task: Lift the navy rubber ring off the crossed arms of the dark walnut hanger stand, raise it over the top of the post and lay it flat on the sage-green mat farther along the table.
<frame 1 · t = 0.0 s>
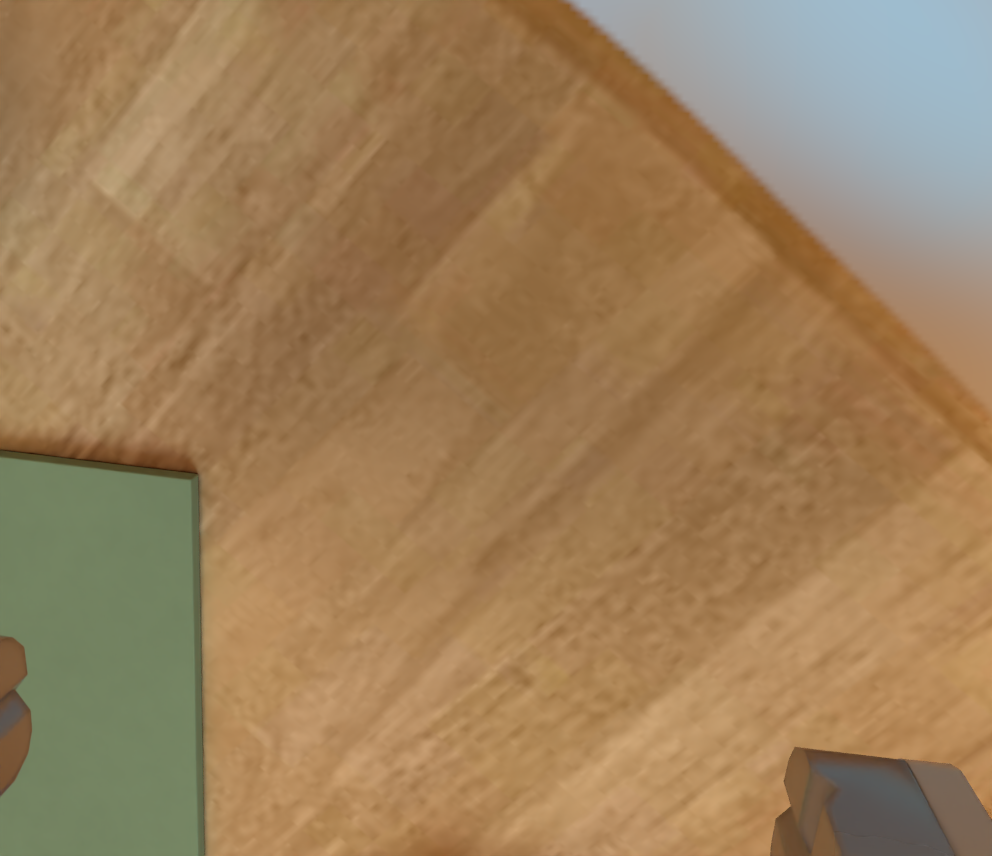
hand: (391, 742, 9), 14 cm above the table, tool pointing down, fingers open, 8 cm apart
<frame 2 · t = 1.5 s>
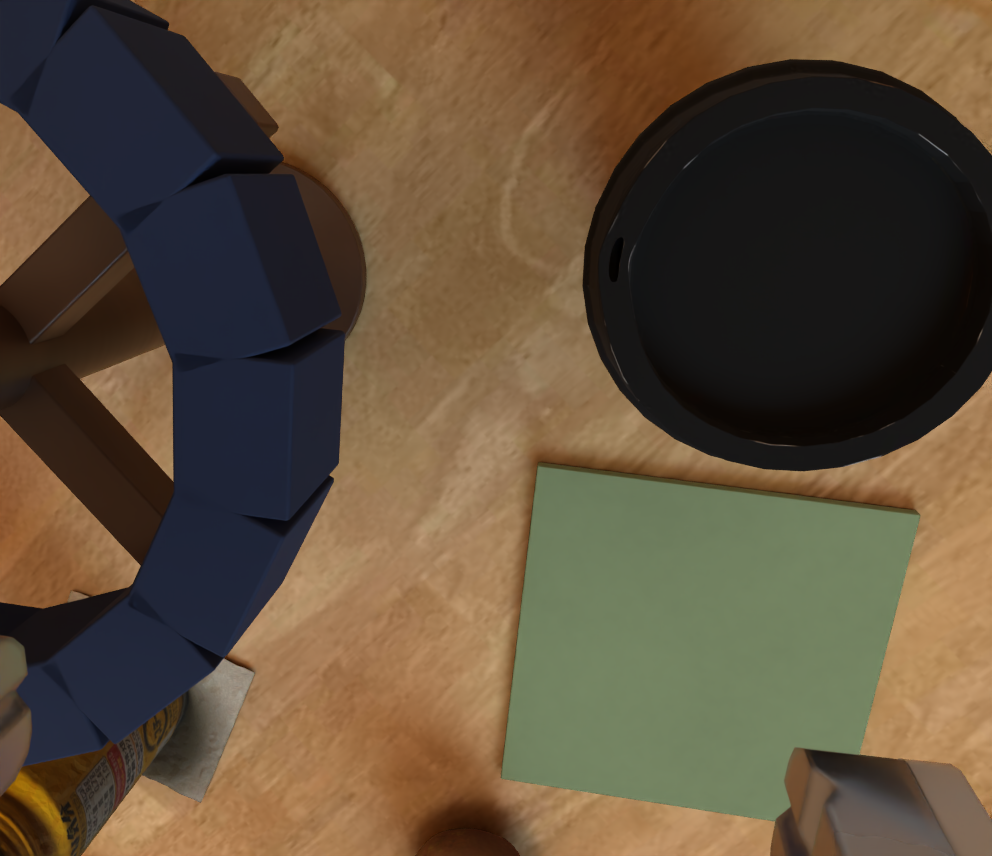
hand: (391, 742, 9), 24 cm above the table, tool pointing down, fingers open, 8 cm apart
condiment: (143, 693, 38), on the table
coffee cup: (709, 234, 30), on the table
fruit: (473, 850, 39), on the table
stand: (260, 271, 32), on the table
mat: (693, 650, 35), on the table
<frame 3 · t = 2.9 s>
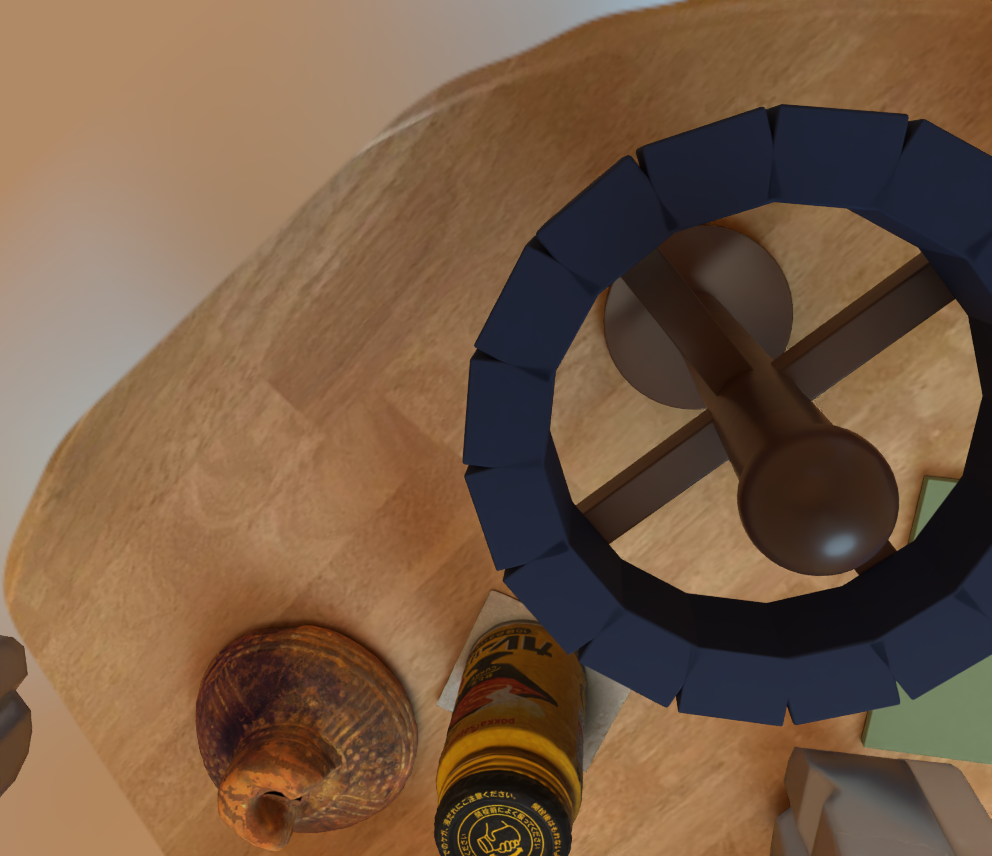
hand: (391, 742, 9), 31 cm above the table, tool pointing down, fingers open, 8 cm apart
condiment: (540, 678, 44), on the table
bell: (311, 717, 47), on the table
ring: (758, 413, 23), point 16 cm above the table, touching stand
stand: (695, 317, 38), on the table
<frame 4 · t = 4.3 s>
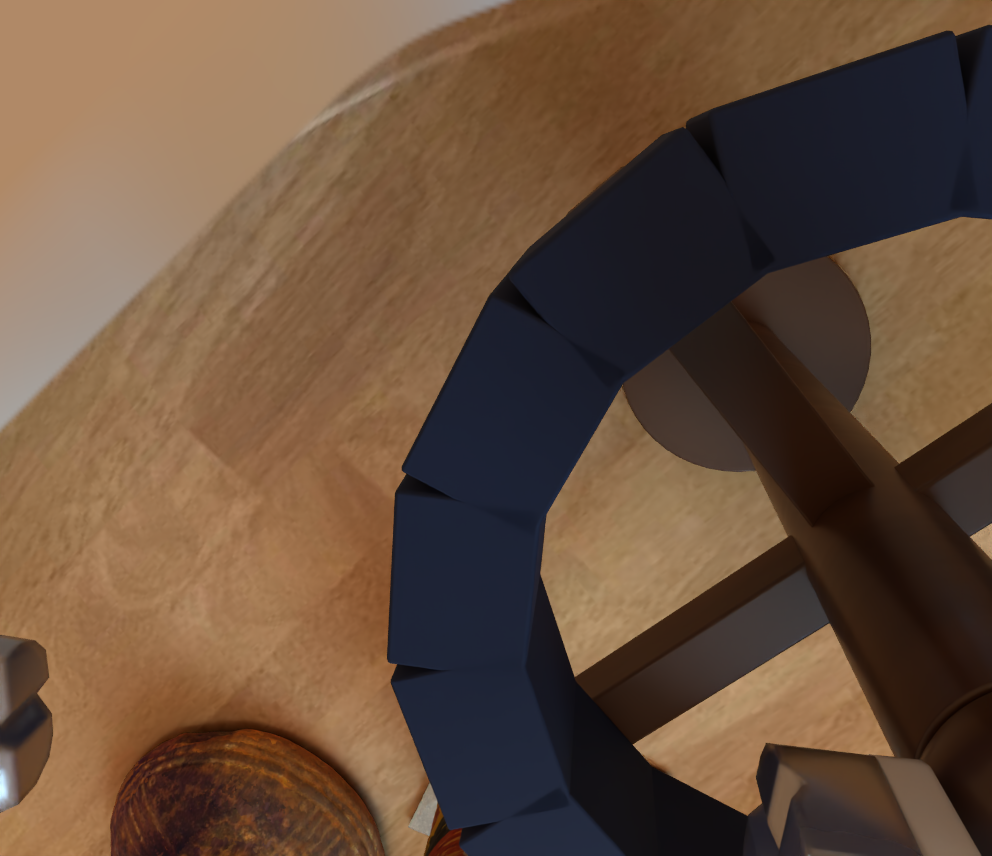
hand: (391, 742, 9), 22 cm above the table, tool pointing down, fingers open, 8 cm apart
condiment: (537, 796, 36), on the table
bell: (255, 835, 38), on the table
ring: (880, 554, 14), point 16 cm above the table, touching stand
stand: (740, 353, 29), on the table
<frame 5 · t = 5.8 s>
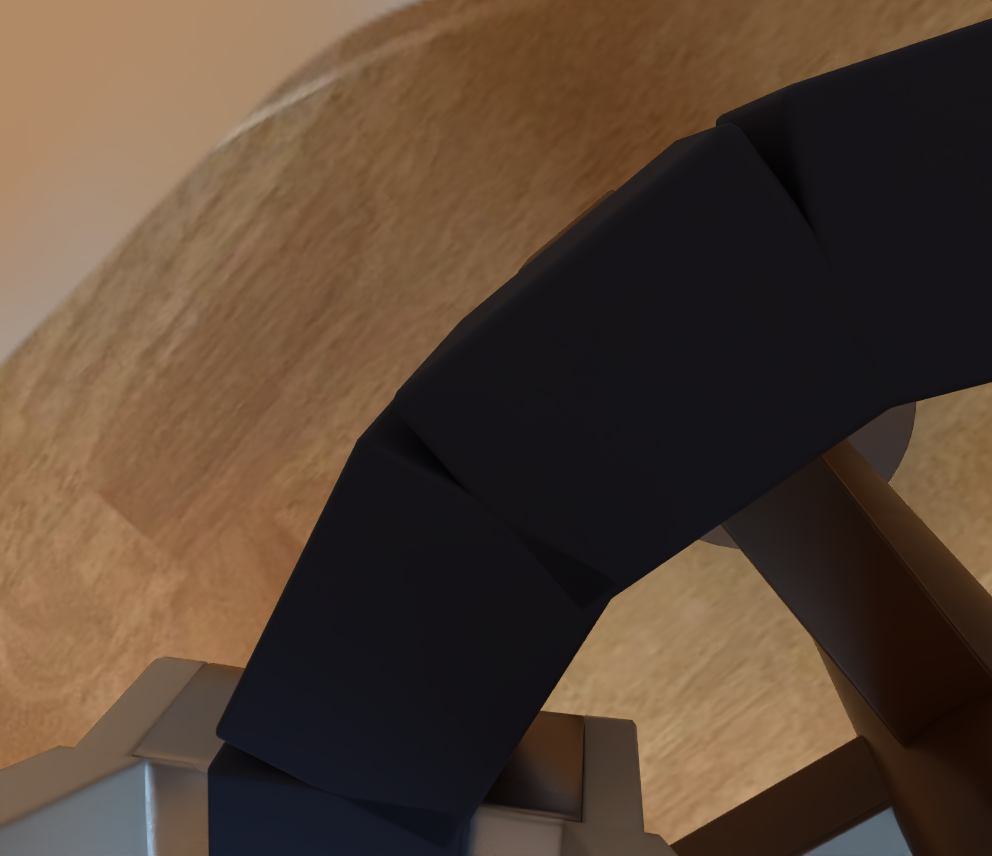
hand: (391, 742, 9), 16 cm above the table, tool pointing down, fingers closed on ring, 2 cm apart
stand: (756, 407, 24), on the table
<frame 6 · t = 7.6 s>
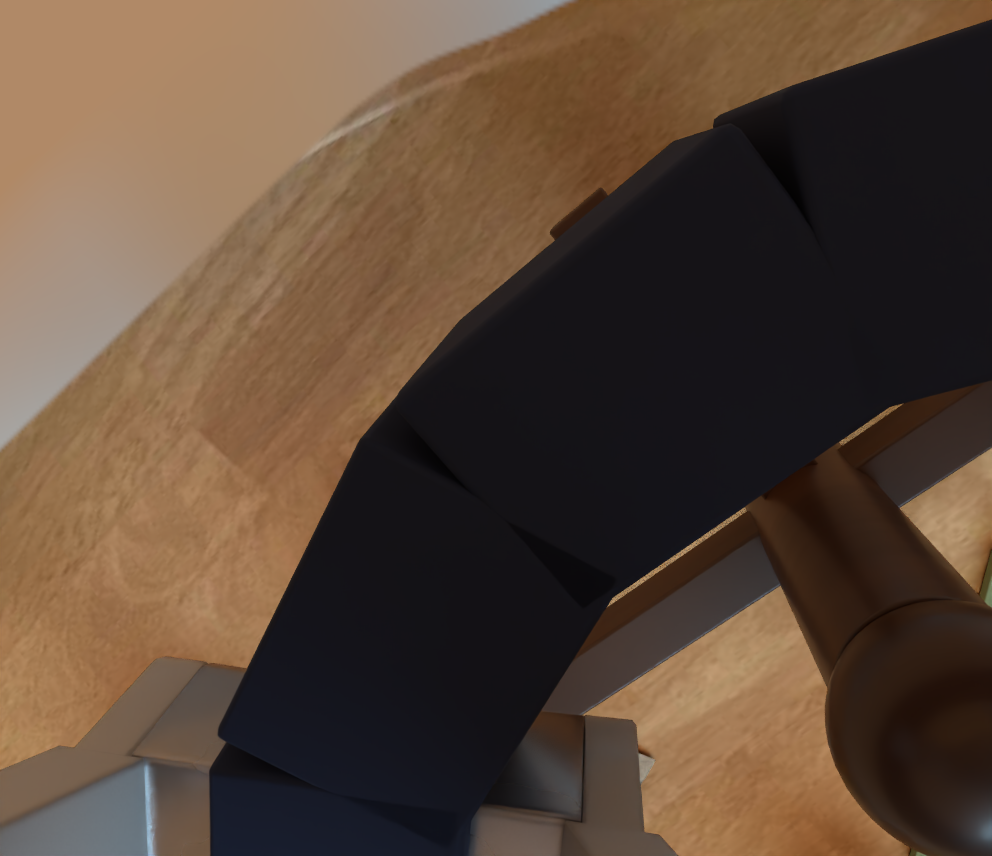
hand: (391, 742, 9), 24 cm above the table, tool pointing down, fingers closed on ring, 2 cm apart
stand: (714, 358, 31), on the table
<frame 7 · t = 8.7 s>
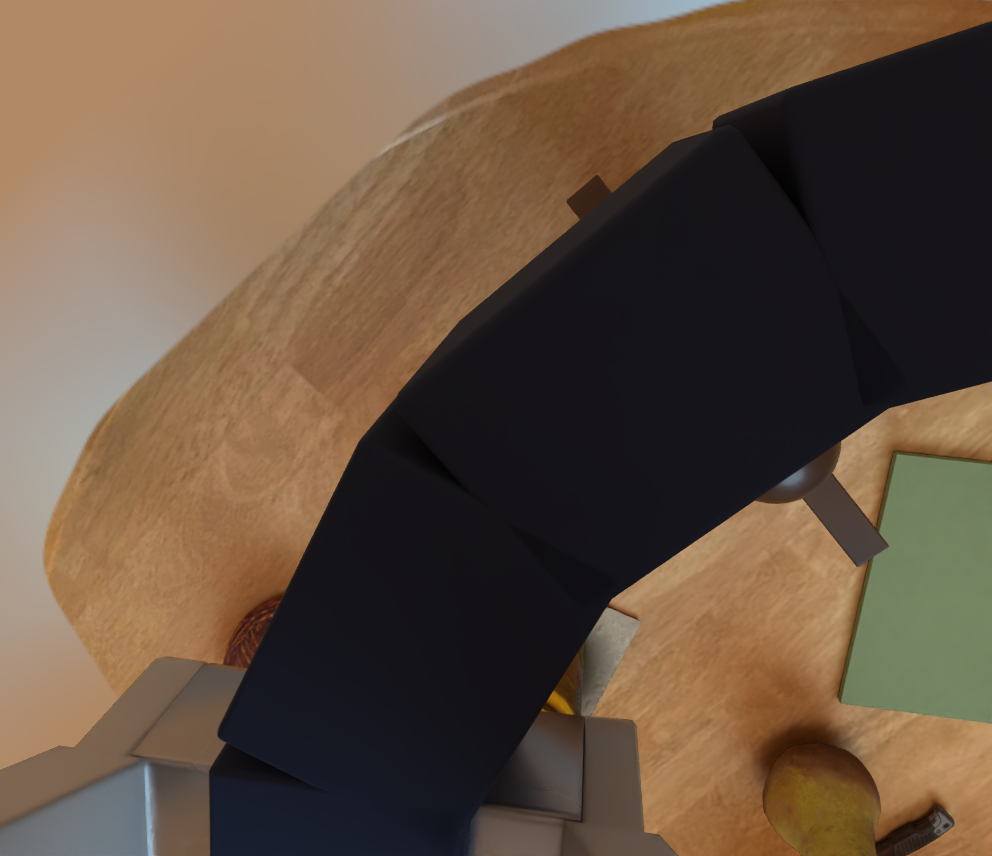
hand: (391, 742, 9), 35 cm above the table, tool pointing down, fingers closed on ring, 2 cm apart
condiment: (541, 641, 48), on the table
bell: (329, 679, 50), on the table
fruit: (806, 763, 48), on the table
stand: (684, 306, 42), on the table
knife: (791, 850, 50), on the table
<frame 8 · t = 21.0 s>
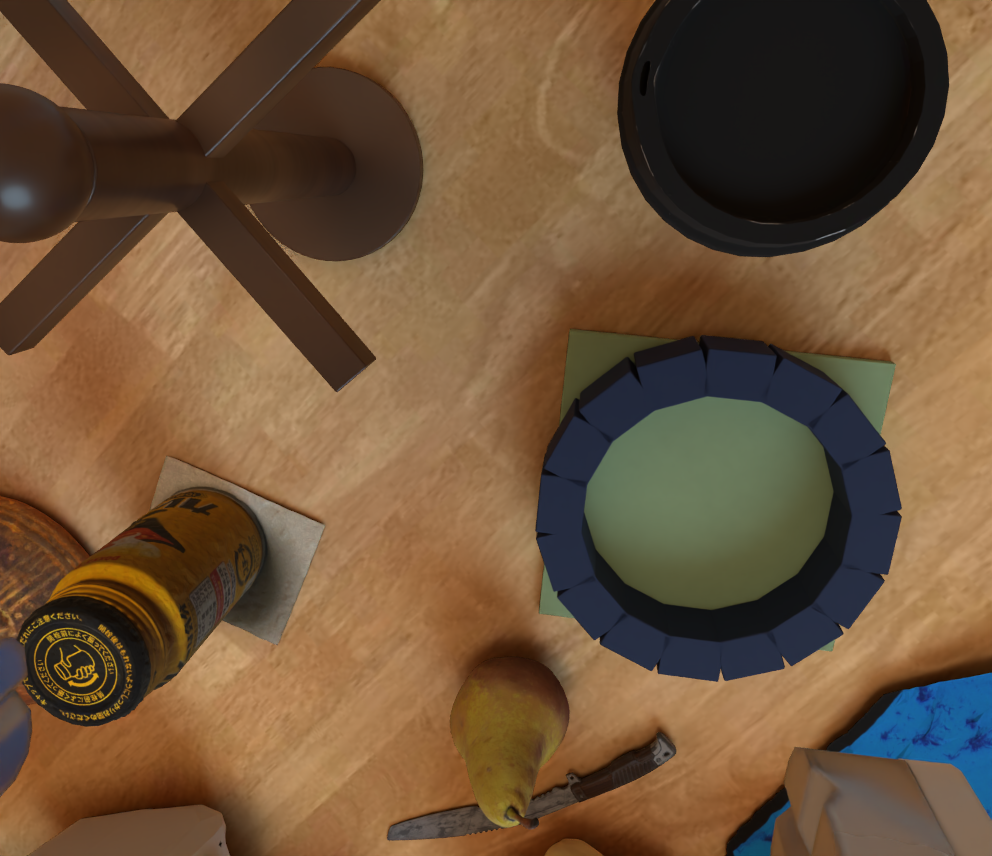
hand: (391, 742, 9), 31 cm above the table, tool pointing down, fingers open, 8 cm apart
condiment: (226, 548, 44), on the table
coffee cup: (714, 125, 36), on the table
bell: (12, 593, 47), on the table
ring: (705, 499, 40), resting on mat
fruit: (514, 682, 44), on the table
stand: (332, 167, 38), on the table
mat: (704, 493, 40), on the table
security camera: (6, 818, 45), point 4 cm above the table
knife: (507, 771, 46), on the table
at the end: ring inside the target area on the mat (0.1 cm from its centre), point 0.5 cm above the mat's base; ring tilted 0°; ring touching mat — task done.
